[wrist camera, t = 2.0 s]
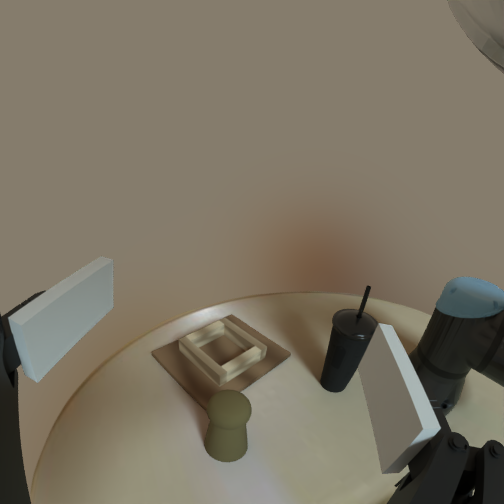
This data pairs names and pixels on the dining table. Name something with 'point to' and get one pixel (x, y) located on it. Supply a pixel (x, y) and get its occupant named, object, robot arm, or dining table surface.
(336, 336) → the drinking cup
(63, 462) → the dining table surface
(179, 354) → the well board
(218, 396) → the olive green peg doll
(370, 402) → the robot arm
